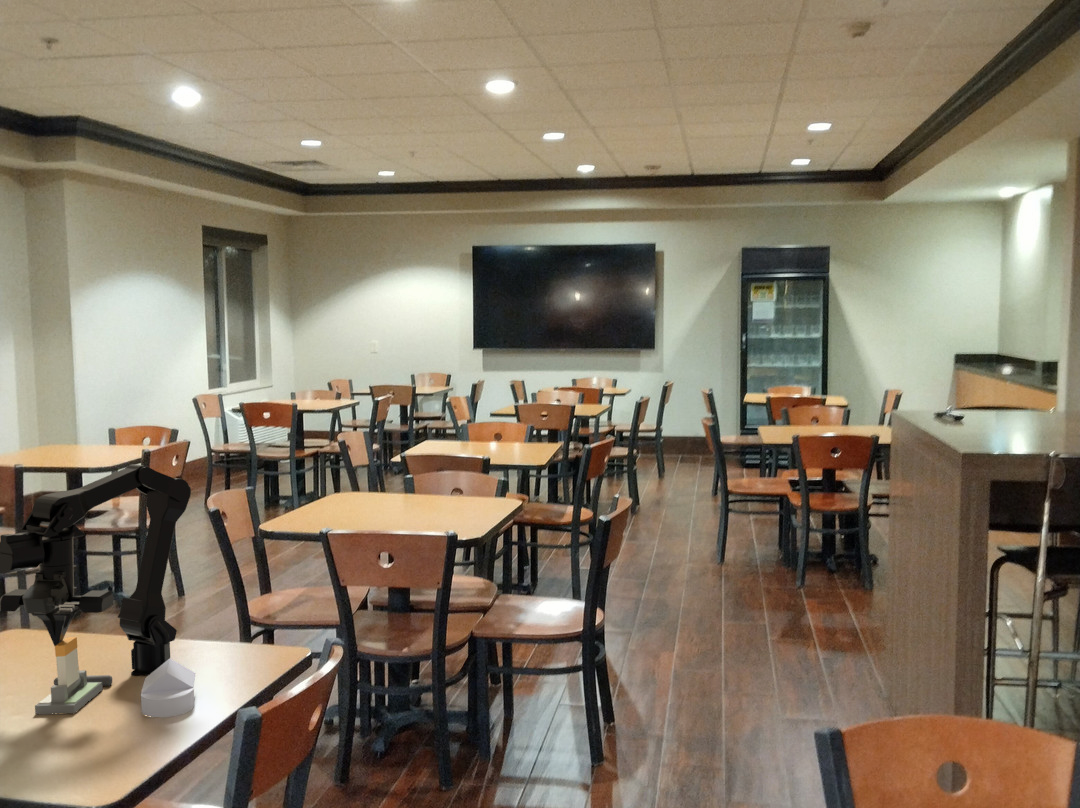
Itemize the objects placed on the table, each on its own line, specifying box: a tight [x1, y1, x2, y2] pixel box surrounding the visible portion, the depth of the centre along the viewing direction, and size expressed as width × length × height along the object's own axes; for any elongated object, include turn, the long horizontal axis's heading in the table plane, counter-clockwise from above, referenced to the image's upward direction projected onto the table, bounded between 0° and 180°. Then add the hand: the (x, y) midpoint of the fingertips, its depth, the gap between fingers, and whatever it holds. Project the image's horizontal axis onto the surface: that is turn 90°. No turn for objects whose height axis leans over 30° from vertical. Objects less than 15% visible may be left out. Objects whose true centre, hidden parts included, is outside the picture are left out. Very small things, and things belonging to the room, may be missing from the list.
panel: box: [34, 669, 104, 715], centre depth 185 cm, size 7×12×4 cm, turn 1°
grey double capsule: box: [53, 674, 113, 687], centre depth 195 cm, size 11×3×2 cm, turn 91°
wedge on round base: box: [140, 658, 196, 718], centre depth 184 cm, size 9×7×13 cm
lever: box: [54, 636, 81, 694], centre depth 185 cm, size 2×6×10 cm, turn 1°
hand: (57, 646), depth 185 cm, fingers closed
